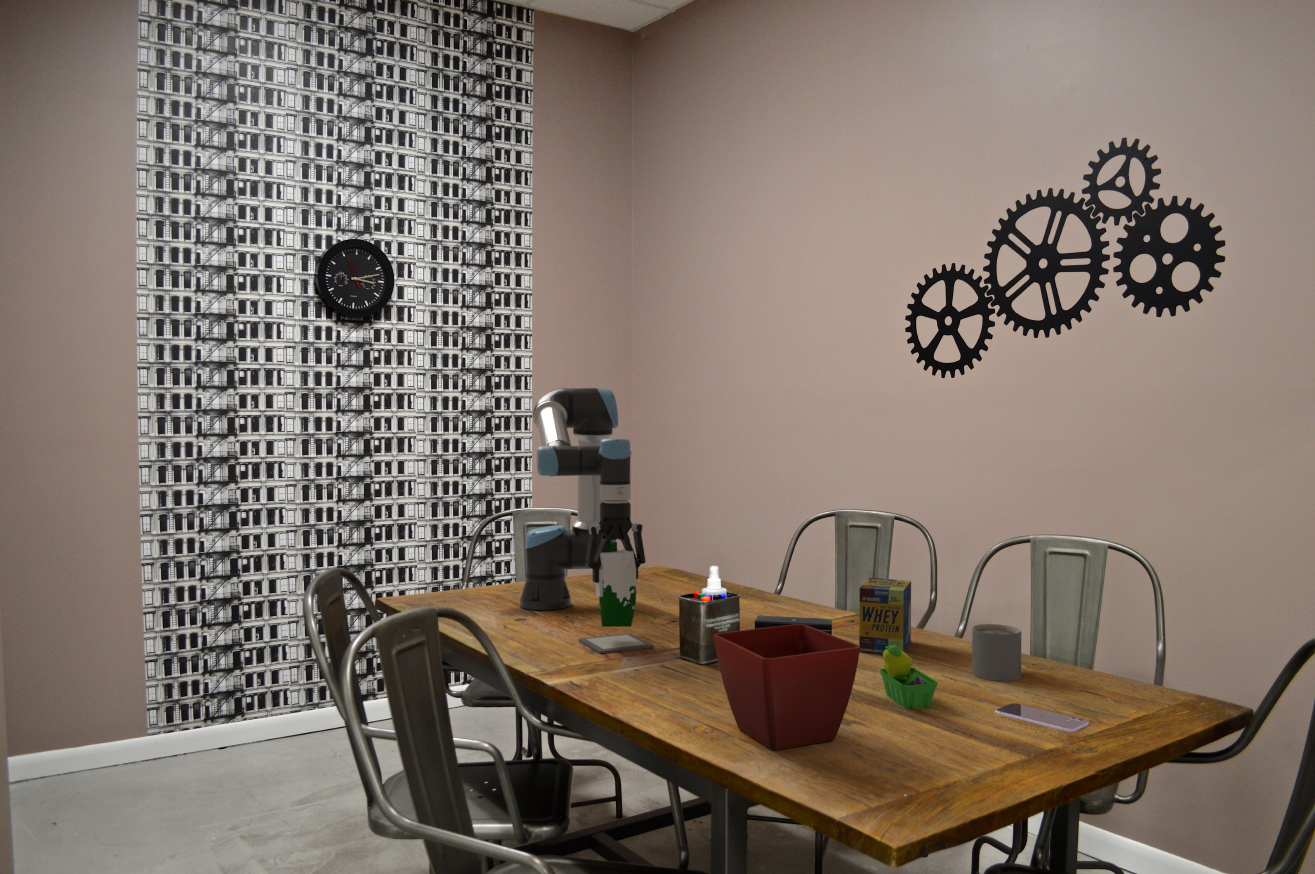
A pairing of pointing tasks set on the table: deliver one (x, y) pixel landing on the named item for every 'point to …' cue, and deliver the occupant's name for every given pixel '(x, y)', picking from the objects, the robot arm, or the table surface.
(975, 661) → the coffee mug
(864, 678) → the table surface
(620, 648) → the mat
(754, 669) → the plant pot
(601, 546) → the robot arm
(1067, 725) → the mobile phone
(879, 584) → the protein box
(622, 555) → the soya milk
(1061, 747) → the table surface
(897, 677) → the fruit basket
